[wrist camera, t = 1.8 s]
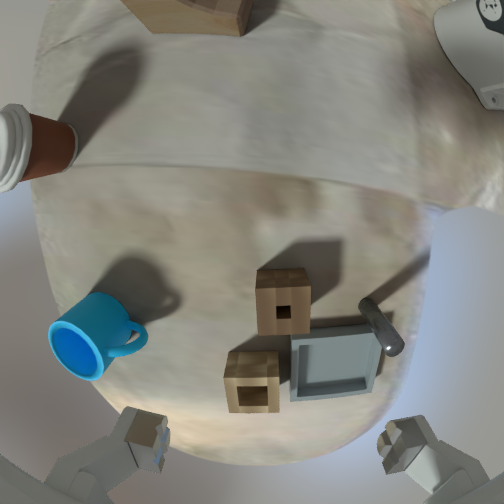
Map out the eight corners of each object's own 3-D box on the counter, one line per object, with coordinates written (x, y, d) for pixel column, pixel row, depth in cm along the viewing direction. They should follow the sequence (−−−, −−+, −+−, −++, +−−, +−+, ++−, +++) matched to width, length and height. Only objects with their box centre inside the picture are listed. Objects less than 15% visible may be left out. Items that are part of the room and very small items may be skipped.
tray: (378, 322, 31) (385, 331, 29) (367, 382, 34) (371, 392, 32) (290, 329, 32) (291, 339, 30) (289, 390, 34) (290, 401, 32)
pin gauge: (374, 296, 30) (406, 337, 22) (373, 311, 31) (402, 354, 22) (359, 298, 30) (387, 340, 22) (357, 313, 31) (383, 358, 22)
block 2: (304, 268, 30) (311, 286, 25) (303, 310, 31) (309, 333, 26) (257, 270, 30) (255, 288, 25) (259, 312, 31) (258, 335, 26)
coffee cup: (30, 167, 28) (-35, 175, 16) (54, 105, 25) (-11, 93, 14) (70, 195, 29) (-1, 211, 17) (98, 126, 26) (27, 114, 15)
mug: (91, 342, 34) (62, 374, 26) (75, 290, 32) (39, 317, 24) (164, 350, 34) (142, 390, 26) (151, 293, 31) (121, 327, 24)
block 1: (278, 350, 33) (279, 377, 28) (278, 385, 34) (279, 412, 29) (228, 351, 33) (223, 377, 28) (233, 386, 35) (229, 412, 30)
